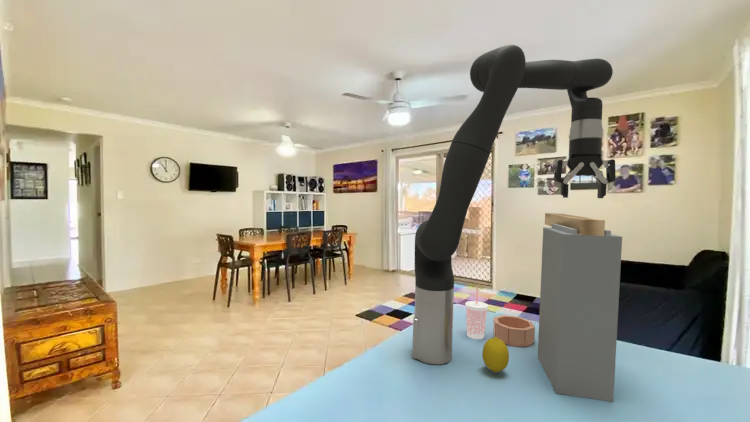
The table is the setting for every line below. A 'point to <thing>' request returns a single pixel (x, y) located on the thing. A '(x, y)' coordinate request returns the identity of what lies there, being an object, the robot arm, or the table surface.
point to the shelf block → (579, 311)
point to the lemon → (495, 354)
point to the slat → (577, 223)
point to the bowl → (514, 330)
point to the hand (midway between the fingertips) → (582, 198)
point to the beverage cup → (476, 318)
